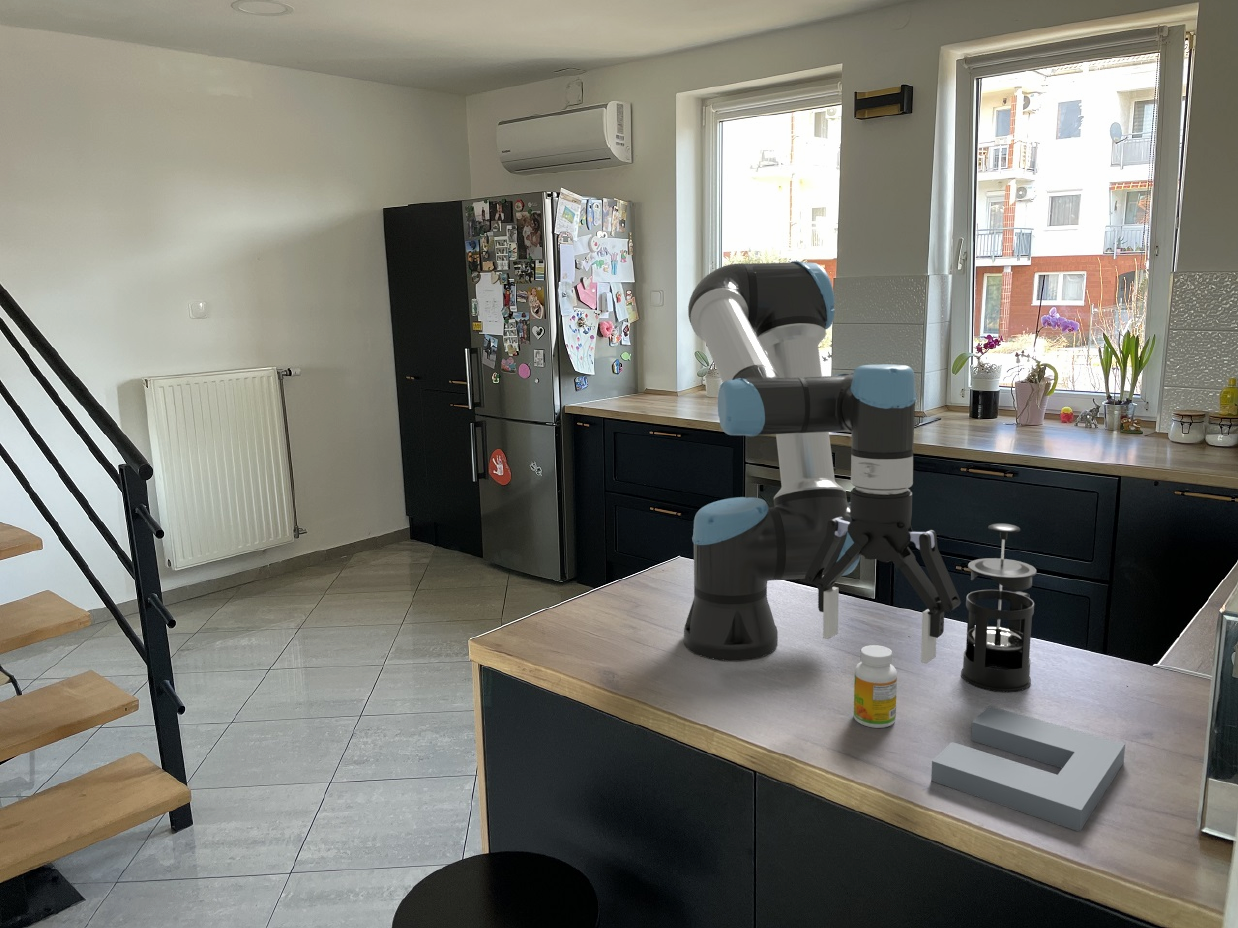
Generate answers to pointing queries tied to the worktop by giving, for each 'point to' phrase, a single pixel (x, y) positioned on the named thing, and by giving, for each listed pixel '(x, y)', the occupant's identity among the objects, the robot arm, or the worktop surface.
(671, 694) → the worktop surface
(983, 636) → the french press
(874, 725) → the supplement bottle
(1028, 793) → the notched board
